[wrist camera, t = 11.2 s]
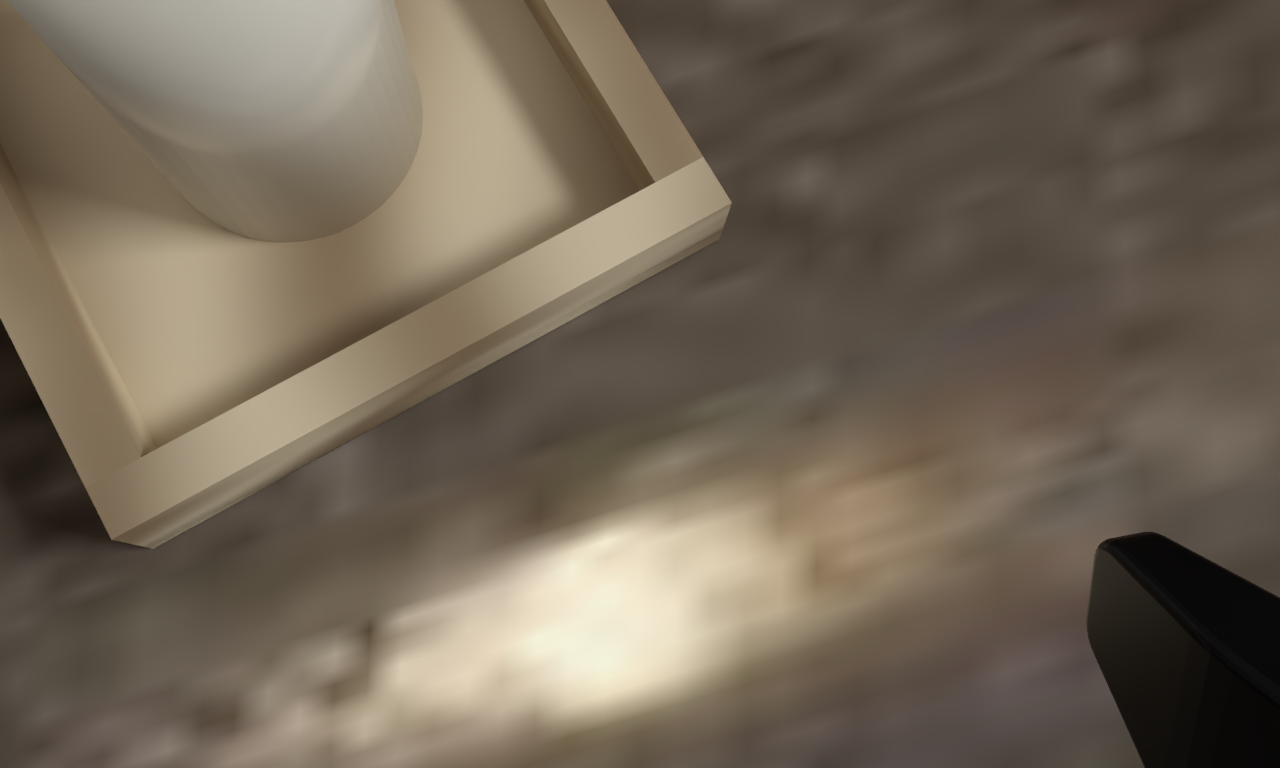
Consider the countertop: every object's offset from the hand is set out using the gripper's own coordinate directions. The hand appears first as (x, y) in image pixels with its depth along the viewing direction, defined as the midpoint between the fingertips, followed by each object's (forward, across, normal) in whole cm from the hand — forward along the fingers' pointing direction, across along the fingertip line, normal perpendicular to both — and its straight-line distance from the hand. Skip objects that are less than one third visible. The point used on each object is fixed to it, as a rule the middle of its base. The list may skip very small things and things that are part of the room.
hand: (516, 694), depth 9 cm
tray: (+17, +3, +2) cm, 18 cm away
